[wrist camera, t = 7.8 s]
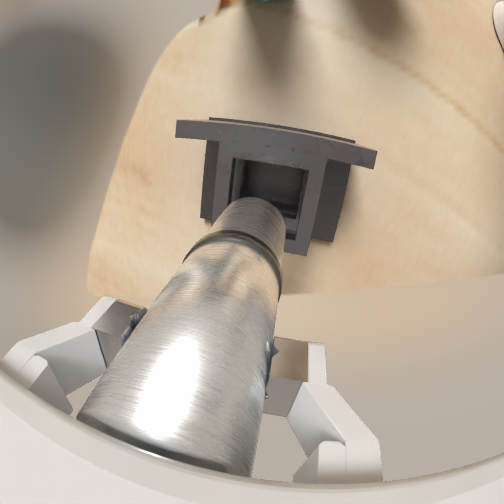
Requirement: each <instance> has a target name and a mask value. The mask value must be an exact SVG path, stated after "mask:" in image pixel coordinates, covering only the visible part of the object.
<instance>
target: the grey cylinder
mask: <svg viewBox="0 0 504 504" xmlns="http://www.w3.org/2000/svg"><path fill="white" fill-rule="evenodd" d="M285 233H286V227H285V222H284V219H283V217H282V215H281V213H280V212H279V210H278V209H277V208H276V207H275V206H274V205H272V204H271V203H270V202H268V201H266V200H263V199H260V198H255V197H246V198H242V199H238V200H236V201H234V202H233V203H231V204H230V205H229V206H228V207H227V208H226V209H225V210H224V212H223V213H222V214H221V215H220V217H219V218H218V219H217V220H216V221H215V223H214V224H213V225H212V226H211V228H210V229H209V230H208V232H207V233H206V234H205V235H204V237H203V238H201V239H200V240H199V241H198V242H197V243H196V244H195V245H194V246H193V248H192V249H191V250H190V251H189V253H188V254H187V255H186V257H185V259H184V260H183V263H182V265H181V266H180V268H179V269H178V270H177V272H176V273H175V274H174V276H173V277H172V278H171V280H170V281H169V282H168V284H167V285H166V286H165V288H164V289H163V290H162V292H161V293H160V294H159V296H158V297H157V298H156V300H155V301H154V303H153V304H152V305H151V307H150V308H149V309H148V311H147V312H146V314H145V315H144V316H143V318H142V319H141V321H140V322H139V323H138V325H137V326H136V328H135V329H134V330H133V332H132V333H131V335H130V336H129V338H128V339H127V340H126V342H125V343H124V345H123V346H122V348H121V349H120V351H119V352H118V353H117V355H116V356H115V358H114V359H113V361H112V362H111V364H110V365H109V367H108V368H107V370H106V371H105V373H104V374H103V376H102V377H101V379H100V380H99V382H98V383H97V385H96V386H95V388H94V390H93V391H92V393H91V394H90V396H89V397H88V399H87V400H86V402H85V404H84V405H83V407H82V408H81V410H80V412H79V413H78V415H77V418H76V419H77V420H79V421H81V422H83V423H85V424H86V425H88V426H90V427H92V428H94V429H97V430H99V431H101V432H103V433H105V434H107V435H109V436H112V437H114V438H116V439H118V440H121V441H123V442H126V443H128V444H130V445H133V446H135V447H138V448H141V449H143V450H146V451H149V452H152V453H154V454H157V455H160V456H163V457H166V458H169V459H173V460H176V461H179V462H183V463H186V464H190V465H193V466H197V467H201V468H205V469H209V470H214V471H218V472H223V473H228V474H233V475H238V476H244V477H250V478H251V476H252V471H253V465H254V459H255V454H256V448H257V442H258V436H259V430H260V424H261V418H262V411H263V405H264V399H265V392H266V391H265V390H266V383H267V376H268V370H269V364H270V355H271V348H272V343H273V335H274V328H275V319H276V312H277V304H278V301H279V299H280V295H281V287H282V261H283V252H284V242H285Z"/></svg>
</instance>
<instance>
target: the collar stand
mask: <svg viewBox="0 0 504 504" xmlns="http://www.w3.org/2000/svg"><path fill="white" fill-rule="evenodd" d="M175 137H176V138H190V139H202V140H207V144H206V154H205V164H204V175H203V187H202V200H201V214H200V218H205V219H211V220H212V224H211V226H212V225H213V224H214V223H215V221H216V220H217V219H218V218H219V217H220V215H221V214H222V213H223V212H224V210H225V209H226V208H227V207H228V206H229V205H230V204H231V203H233V202H234V201H236V200H238V199H242V198H246V197H255V198H260V199H263V200H266V201H268V202H270V203H271V204H272V205H274V206H275V207H276V208H277V209H278V210H279V212H280V213H281V215H282V217H283V219H284V222H285V227H286V233H285V242H284V252H287V253H292V254H298V255H303V256H306V255H307V251H308V247H309V243H310V238H316V239H321V240H326V241H331V242H333V239H334V235H335V231H336V228H337V224H338V219H339V215H340V211H341V207H342V203H343V199H344V194H345V190H346V185H347V181H348V176H349V171H350V166H351V164H353V165H358V166H362V167H366V168H369V169H374V165H375V160H376V155H377V151H375V150H372V149H369V148H366V147H364V146H361V145H358V144H355V141H354V140H350V139H346V138H342V137H337V136H333V135H328V134H323V133H319V132H314V131H308V130H303V129H298V128H292V127H286V126H280V125H273V124H266V123H259V122H251V121H243V120H234V119H224V118H211V117H209V120H177V124H176V134H175Z"/></svg>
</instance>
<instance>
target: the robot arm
mask: <svg viewBox="0 0 504 504" xmlns="http://www.w3.org/2000/svg"><path fill="white" fill-rule="evenodd" d="M493 18H494V24H495V28H496V32H497V35H498V37H499V40H500V42H501V45H502V47H503V49H504V1H501V2H498V3H497V4H496V5H495V7H494V11H493ZM147 311H148V310H147V309H146V308H145V307H142V306H139V305H136V304H132V303H129V302H126V301H123V300H120V299H116V298H113V297H110V296H104V297H102V299H100V301H99V302H98V303H97V304H96V305H95V306H94V307H93V308H92V309H91V310H90V311H89V312H88V313H87V314H86V315H85V316H84V317H83V319H82V320H81V321H80V322H79V323H77V322H73V323H70V324H67V325H64V326H61V327H58V328H56V329H53V330H50V331H47V332H44V333H41V334H39V335H36V336H33V337H30V338H27V339H24V340H21V341H19V342H17V344H16V345H15V346H14V347H13V348H12V349H11V350H10V351H9V352H8V353H7V354H6V355H5V356H4V358H3V359H2V360H1V361H0V504H504V453H502V454H499V455H497V456H494V457H492V458H488V459H486V460H483V461H480V462H476V463H473V464H470V465H467V466H463V467H460V468H456V469H452V470H448V471H444V472H440V473H435V474H430V475H425V476H420V477H414V478H408V479H400V480H392V481H383V476H382V465H381V456H380V447H379V441H378V439H377V438H376V437H375V436H374V435H373V433H372V432H371V431H370V430H369V429H368V427H367V426H366V425H365V424H364V423H363V422H362V420H361V419H360V418H359V417H358V416H357V414H356V413H355V412H354V411H353V410H352V408H351V407H350V406H349V405H348V404H347V402H346V401H345V400H344V399H343V398H342V396H341V395H340V394H339V393H338V392H337V390H336V389H335V388H334V387H333V386H332V385H328V383H327V368H326V353H325V345H324V344H323V343H316V342H306V341H300V340H293V339H287V338H281V337H274V339H273V343H272V348H271V355H270V364H269V370H268V376H267V383H266V390H265V391H266V392H265V399H264V405H263V411H262V413H266V414H271V415H277V416H283V417H287V420H288V422H289V424H290V426H291V428H292V430H293V431H294V433H295V435H296V437H297V439H298V441H299V443H300V444H301V446H302V448H303V450H304V452H305V454H306V455H307V457H308V459H307V460H306V461H305V463H304V464H303V465H302V466H301V467H300V468H299V469H298V471H297V472H296V473H295V474H294V475H293V482H282V481H272V480H264V479H256V478H250V477H244V476H238V475H233V474H228V473H223V472H218V471H214V470H209V469H205V468H201V467H197V466H193V465H190V464H186V463H183V462H179V461H176V460H173V459H169V458H166V457H163V456H160V455H157V454H154V453H152V452H149V451H146V450H143V449H141V448H138V447H135V446H133V445H130V444H128V443H126V442H123V441H121V440H118V439H116V438H114V437H112V436H109V435H107V434H105V433H103V432H101V431H99V430H97V429H94V428H92V427H90V426H88V425H86V424H85V423H83V422H81V421H79V420H77V419H75V418H73V417H71V416H70V414H71V413H72V411H73V409H72V406H71V404H70V402H69V401H68V399H67V397H66V395H68V394H69V393H71V392H73V391H75V390H76V389H78V388H80V387H82V386H83V385H85V384H87V383H89V382H90V381H92V380H94V379H95V378H97V377H98V376H100V375H102V374H104V373H105V371H106V370H107V368H108V367H109V365H110V364H111V362H112V361H113V359H114V358H115V356H116V355H117V353H118V352H119V351H120V349H121V348H122V346H123V345H124V343H125V342H126V340H127V339H128V338H129V336H130V335H131V333H132V332H133V330H134V329H135V328H136V326H137V325H138V323H139V322H140V321H141V319H142V318H143V316H144V315H145V314H146V312H147Z"/></svg>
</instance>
